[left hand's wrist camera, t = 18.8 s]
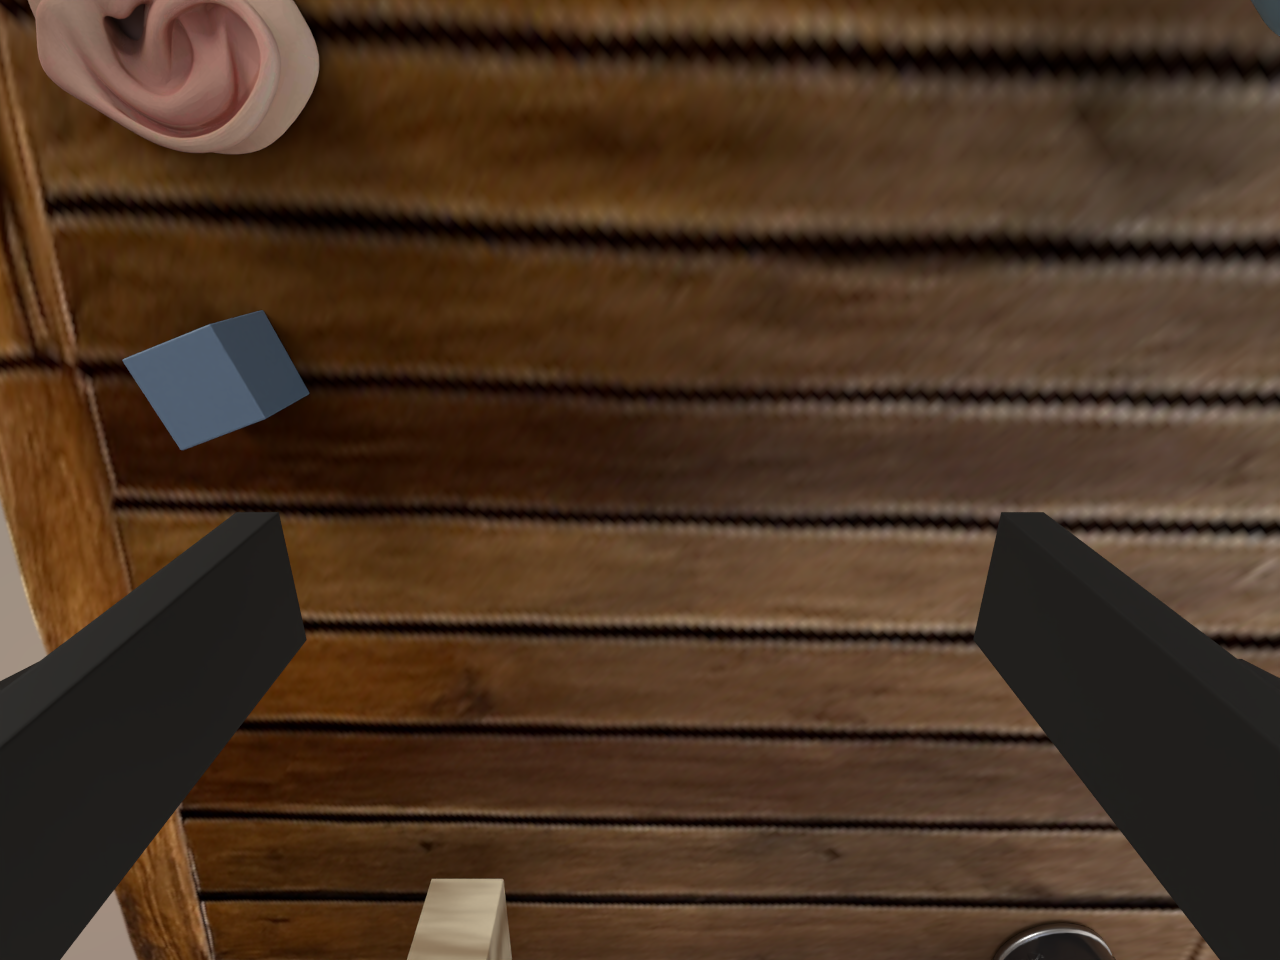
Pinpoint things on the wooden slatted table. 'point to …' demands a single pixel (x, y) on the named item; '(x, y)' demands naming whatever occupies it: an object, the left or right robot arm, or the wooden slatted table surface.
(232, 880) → the wooden slatted table surface
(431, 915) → the ash bar
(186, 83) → the anatomical model
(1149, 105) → the wooden slatted table surface
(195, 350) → the slate blue block
